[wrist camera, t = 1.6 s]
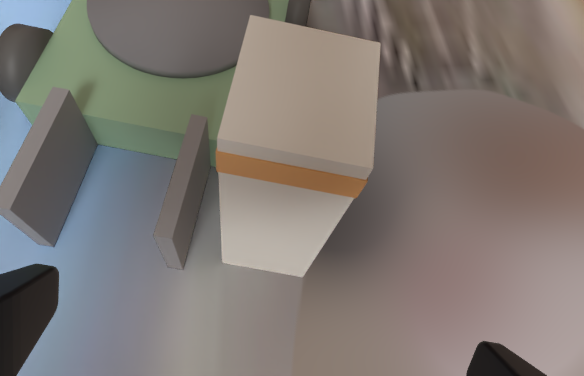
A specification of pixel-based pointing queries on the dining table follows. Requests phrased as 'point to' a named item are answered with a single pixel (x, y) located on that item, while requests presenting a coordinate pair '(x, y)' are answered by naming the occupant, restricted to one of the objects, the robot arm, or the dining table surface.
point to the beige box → (293, 142)
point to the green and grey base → (124, 101)
